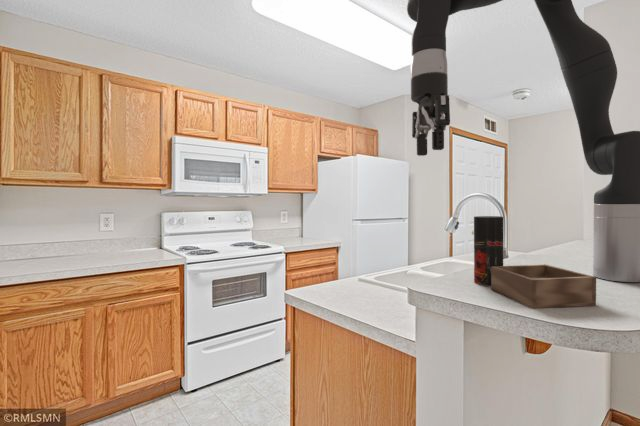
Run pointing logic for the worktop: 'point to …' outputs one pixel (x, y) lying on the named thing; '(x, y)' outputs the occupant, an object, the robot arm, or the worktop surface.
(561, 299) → the holder box
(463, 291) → the worktop surface
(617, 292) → the worktop surface
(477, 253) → the deodorant
